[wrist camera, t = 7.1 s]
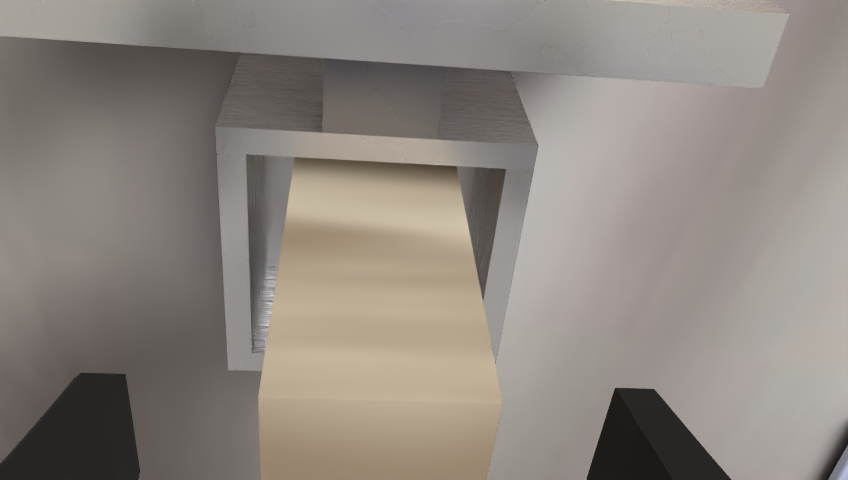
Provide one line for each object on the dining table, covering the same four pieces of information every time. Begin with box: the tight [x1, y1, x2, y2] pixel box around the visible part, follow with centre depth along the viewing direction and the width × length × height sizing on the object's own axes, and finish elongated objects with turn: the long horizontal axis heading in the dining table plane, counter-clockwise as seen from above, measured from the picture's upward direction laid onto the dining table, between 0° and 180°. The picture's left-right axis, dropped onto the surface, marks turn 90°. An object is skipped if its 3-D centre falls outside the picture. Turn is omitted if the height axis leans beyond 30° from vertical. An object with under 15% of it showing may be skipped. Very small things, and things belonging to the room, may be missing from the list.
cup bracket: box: [0, 0, 789, 371], centre depth 17 cm, size 8×12×6 cm
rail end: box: [258, 157, 503, 480], centre depth 15 cm, size 3×3×8 cm
